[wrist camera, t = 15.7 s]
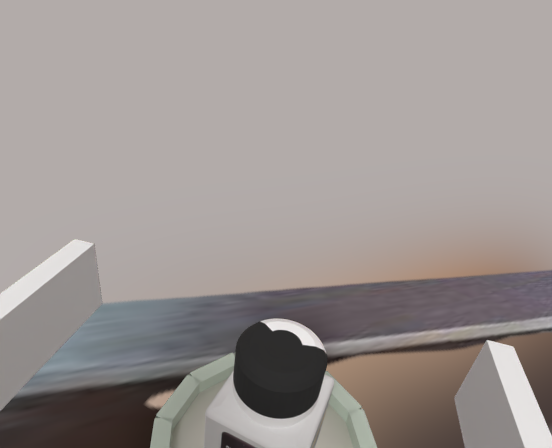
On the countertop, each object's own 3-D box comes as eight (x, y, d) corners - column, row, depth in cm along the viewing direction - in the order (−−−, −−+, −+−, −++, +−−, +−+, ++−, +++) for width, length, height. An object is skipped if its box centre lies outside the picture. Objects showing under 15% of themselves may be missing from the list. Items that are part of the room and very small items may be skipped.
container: (287, 521, 29) (317, 413, 22) (200, 470, 31) (205, 360, 25) (320, 433, 35) (350, 330, 29) (245, 396, 37) (258, 293, 31)
